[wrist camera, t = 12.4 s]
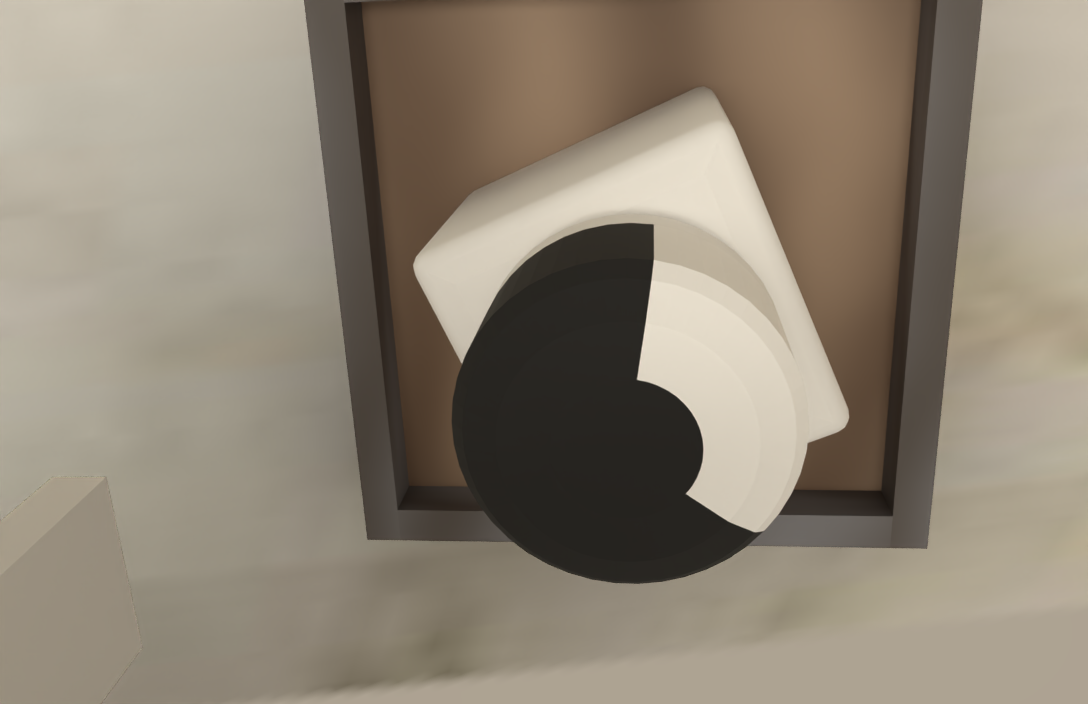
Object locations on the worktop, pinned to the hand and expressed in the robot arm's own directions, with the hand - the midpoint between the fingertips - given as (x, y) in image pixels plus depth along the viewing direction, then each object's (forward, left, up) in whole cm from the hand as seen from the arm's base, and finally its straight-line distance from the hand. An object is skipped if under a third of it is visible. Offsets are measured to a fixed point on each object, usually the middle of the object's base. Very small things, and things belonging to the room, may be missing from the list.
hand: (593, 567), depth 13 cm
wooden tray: (0, 0, -16) cm, 16 cm away
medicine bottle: (0, 0, -16) cm, 16 cm away
